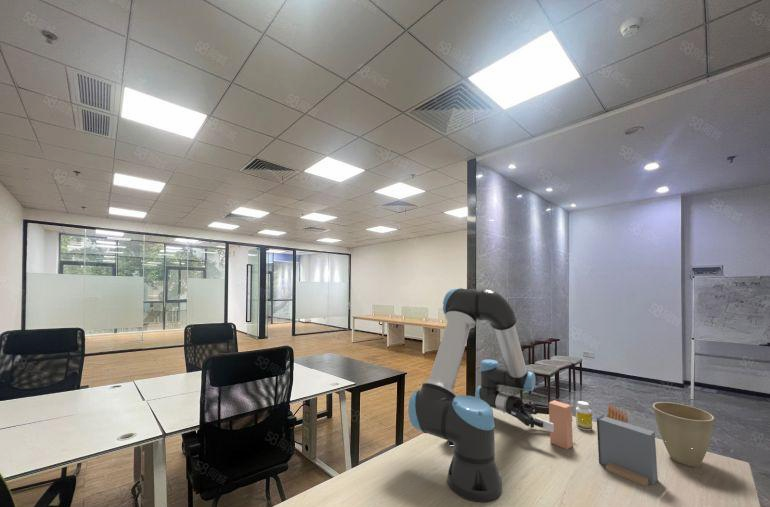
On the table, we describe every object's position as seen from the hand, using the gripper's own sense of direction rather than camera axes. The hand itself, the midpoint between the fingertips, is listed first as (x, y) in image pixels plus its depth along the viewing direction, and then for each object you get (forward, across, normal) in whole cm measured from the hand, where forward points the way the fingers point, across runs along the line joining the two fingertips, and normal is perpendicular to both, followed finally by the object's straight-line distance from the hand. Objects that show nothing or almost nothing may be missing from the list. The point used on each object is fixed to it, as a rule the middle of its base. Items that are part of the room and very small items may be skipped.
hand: (563, 422), depth 116 cm
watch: (-24, +30, -8) cm, 39 cm away
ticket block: (+19, 0, -8) cm, 21 cm away
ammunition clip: (+10, -20, -8) cm, 24 cm away
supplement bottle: (-2, -21, -8) cm, 23 cm away
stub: (-1, 0, -8) cm, 8 cm away
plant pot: (+28, -23, -8) cm, 37 cm away
